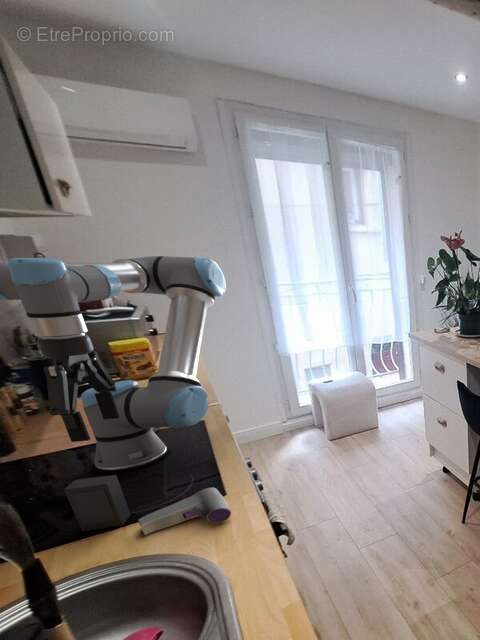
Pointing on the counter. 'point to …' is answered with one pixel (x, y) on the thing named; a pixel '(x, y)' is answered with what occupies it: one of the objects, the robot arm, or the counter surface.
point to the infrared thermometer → (188, 511)
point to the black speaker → (98, 502)
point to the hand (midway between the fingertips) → (97, 428)
